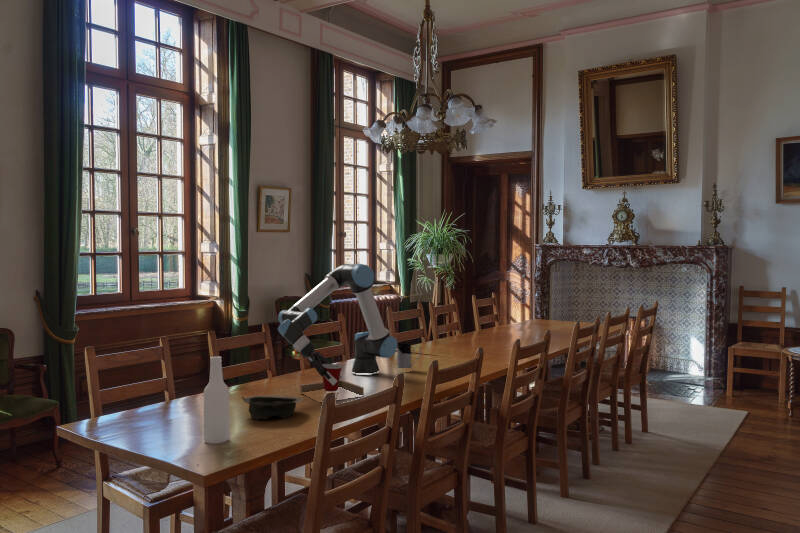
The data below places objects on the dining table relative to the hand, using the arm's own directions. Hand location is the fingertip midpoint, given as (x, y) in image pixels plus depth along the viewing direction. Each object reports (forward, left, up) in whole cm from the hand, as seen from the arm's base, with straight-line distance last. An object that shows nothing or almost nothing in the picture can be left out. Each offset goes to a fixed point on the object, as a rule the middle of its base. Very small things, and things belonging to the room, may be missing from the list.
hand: (337, 381), depth 297 cm
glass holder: (-62, -34, -7) cm, 71 cm away
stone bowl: (+38, +17, -7) cm, 43 cm away
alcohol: (+68, +40, -7) cm, 80 cm away
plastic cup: (+2, -2, -5) cm, 6 cm away
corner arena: (+2, -2, -7) cm, 7 cm away
